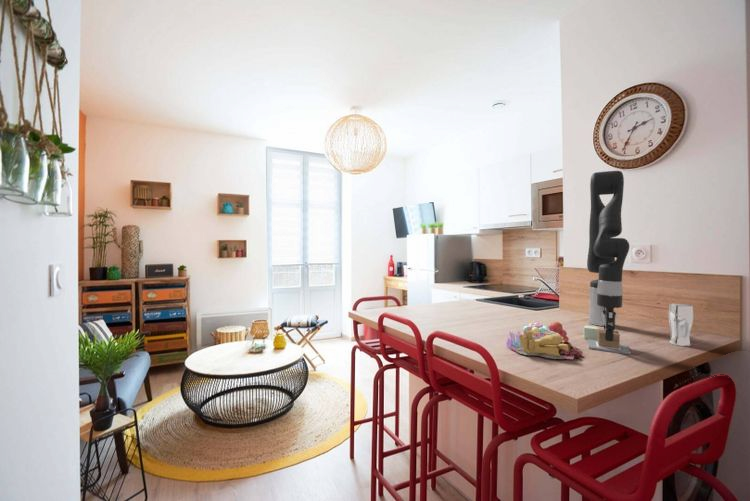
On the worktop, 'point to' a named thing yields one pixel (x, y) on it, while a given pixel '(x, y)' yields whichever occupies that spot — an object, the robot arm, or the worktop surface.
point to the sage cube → (590, 332)
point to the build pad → (622, 348)
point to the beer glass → (680, 323)
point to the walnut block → (605, 343)
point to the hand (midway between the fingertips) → (608, 337)
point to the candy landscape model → (543, 342)
